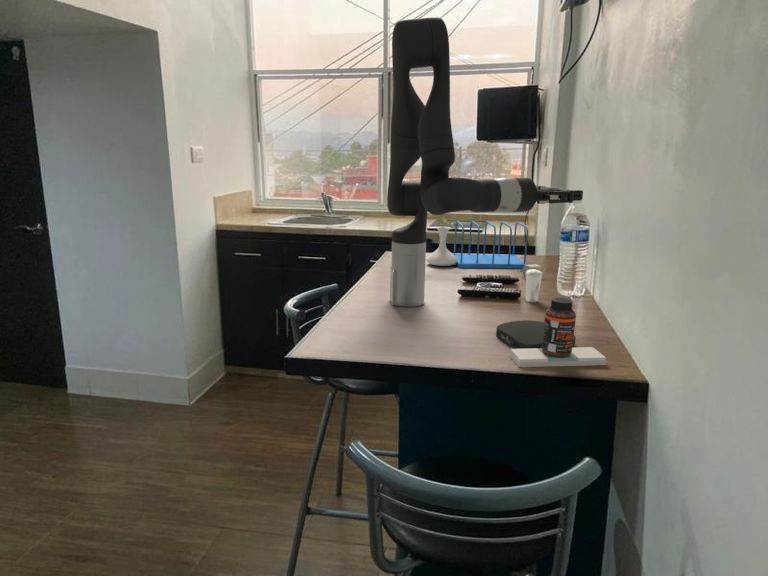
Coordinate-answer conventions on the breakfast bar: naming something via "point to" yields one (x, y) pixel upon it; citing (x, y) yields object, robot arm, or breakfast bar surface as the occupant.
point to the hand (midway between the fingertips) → (568, 193)
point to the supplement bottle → (559, 328)
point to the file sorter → (490, 259)
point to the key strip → (557, 358)
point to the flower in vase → (442, 248)
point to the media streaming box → (522, 334)
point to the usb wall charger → (527, 267)
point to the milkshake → (533, 284)
